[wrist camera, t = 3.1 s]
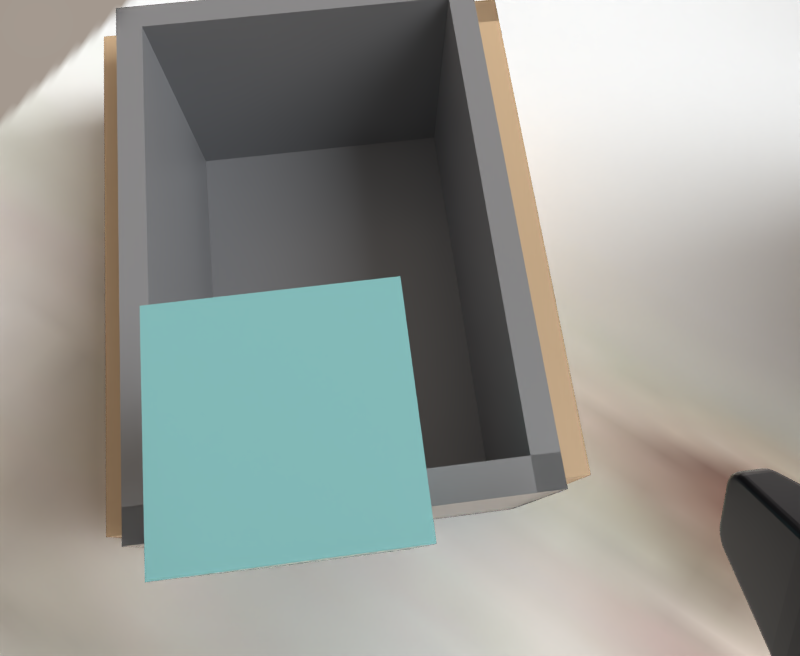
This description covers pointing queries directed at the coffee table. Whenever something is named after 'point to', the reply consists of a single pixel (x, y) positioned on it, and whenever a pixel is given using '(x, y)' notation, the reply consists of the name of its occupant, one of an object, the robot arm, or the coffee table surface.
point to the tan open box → (528, 234)
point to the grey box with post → (317, 285)
